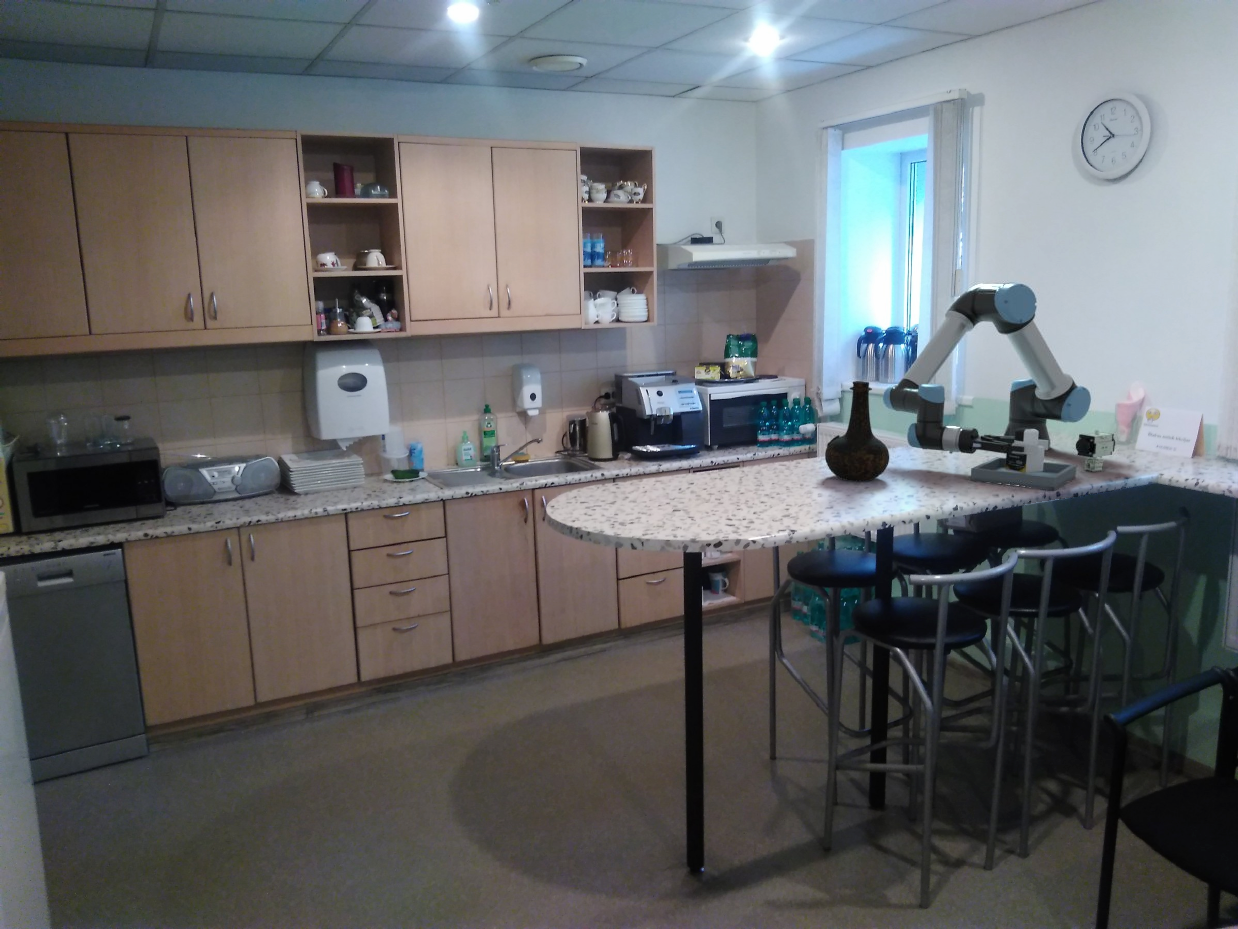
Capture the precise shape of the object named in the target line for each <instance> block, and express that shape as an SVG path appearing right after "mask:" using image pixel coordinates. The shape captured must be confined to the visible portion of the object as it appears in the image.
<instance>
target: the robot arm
mask: <svg viewBox="0 0 1238 929" xmlns="http://www.w3.org/2000/svg"><path fill="white" fill-rule="evenodd" d="M1036 304H1037V297H1036V294H1035V292H1034V291H1033V289H1031V288H1030V287H1029V286H1028V285H1026V284H1023V283H1017V282H1006V283H1005V282H1000V283H999V282H995V283H989V282H986V283H984V282H983V283H979V284H976V285H973V286H972V287H970V288H968V289H967V290H965V292H963V293H962V294H961V295H960V296H959V297H958V298H957V299H956V300H955V301H954V302H953V303H952V305H951V306H950V307H949V308H948V310H947V311H946V312H945V314H944V316H945V319H944V320H943V322H942V323H941V325H940V326H939V327H938V329H937V330H936V331H935V333H934V334H933V335H932V337H931V338H930V340H929V341H928V342H927V344H926V345H925V347H924V348H923V350H922V351H921V352H920V354H919V355H918V356H917V358H916V359H915V360H914V362H913V363H912V364H911V366H910V368H909V369H908V370H907V371H906V373H905V374H904V376H903V377H902V378H901V380H900V381H899V383H898V384H897V385H891V386H888V387H887V388H886V389H885V390H884V392H883V395H882V402H883V404H884V405H885V407H886V408H887V409H890V410H892V411H896V412H903V413H904V412H905V413H910V414H914V415H916V422H913V423H911V424H909V427H908V431H907V435H906V438H907V443H908V444H909V446H910V447H912V448H918V449H922V450H933V451H944V452H948V453H949V454H953V453H961V454H971V455H972V454H975V453H976V451H977V450H978V451H986V452H993V453H998V454H999V453H1000V454H1004V455H1006V453H1007V455H1011V451H1012V453H1018V454H1028V455H1038V446H1043V447H1045V451H1048V450H1049V449H1051V438H1050V434H1049V430H1048V428H1047V427H1048V426H1047V420H1051V421H1056V422H1062V423H1073V424H1074V423H1077V422H1080V421H1081V420H1083V419H1084V417H1085V416H1086V415H1087V414H1088V412H1089V410H1090V406H1091V403H1092V402H1091V401H1092V397H1091V392H1090V390H1089V389H1088V388H1087V387H1085V386H1082V385H1079V386H1078V385H1077V383H1076V382H1075V380H1074V378H1073V377H1072V375H1070V374H1068V373H1064V372H1063V370H1062V368H1061V366H1060V365H1059V363H1058V361H1057V359H1056V357H1055V355H1054V354H1053V353H1052V351H1051V349H1050V347H1049V346H1048V344H1047V342H1046V340H1045V338H1044V337H1043V335H1042V333H1041V332H1040V330H1039V328H1038V326H1037V325H1036V323H1035V321H1034V319H1035V317H1036V311H1037V306H1038V305H1036ZM982 322H989V323H990V322H991V323H992V324H993V325H994V327H995V329H996V331H997V332H998V333H999V334H1001V335H1002V336H1003V335H1005V336H1006V337H1007V338H1008V340H1009V341H1010V343H1011V345H1012V347H1013V348H1014V350H1015V352H1016V354H1017V355H1018V358H1019V359H1020V360H1021V363H1022V364H1023V365H1024V368H1025V369H1026V371H1027V373H1028V375H1029V376H1030V377H1031V378H1028V379H1015V380H1014V381H1013V382H1012V383H1011V387H1010V390H1009V391H1010V392H1009V407H1008V408H1009V410H1008V411H1009V412H1008V424H1007V426H1006V428H1005V430H1004V433H1003V434H1002V435H994V434H983V435H980V434H979V430H978V429H977V428H974V427H962V426H956V425H944V412H945V401H946V397H945V390H946V389H945V386H943V385H942V384H938V383H937V384H936V383H935V384H933V383H931V381H932V380H933V379H934V377H935V376H936V374H937V373H938V372H939V370H940V369H941V368H942V366H943V365H944V363H945V362H946V361H947V360H948V358H949V356H950V355H951V354H952V353H953V351H954V350H955V348H956V347H957V346H958V344H959V343H960V342H961V340H962V339H963V337H964V336H965V335H966V333H967V332H972V331H973V329H974V328H975V326H976V325H978V324H979V323H982ZM1019 428H1032V429H1036V430H1038V432H1039V434H1038V444H1036V445H1030V444H1019V443H1015V442H1014V440H1015V430H1016V429H1019ZM1012 445H1013V446H1012Z"/></svg>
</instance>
